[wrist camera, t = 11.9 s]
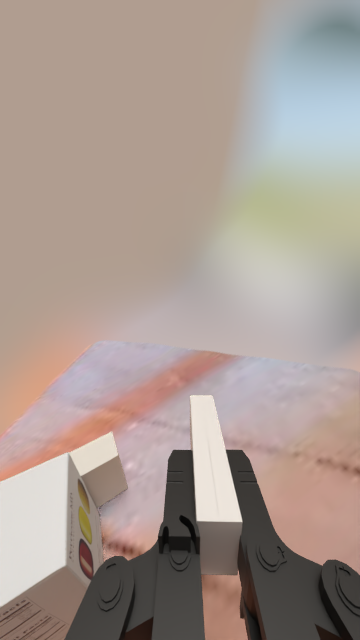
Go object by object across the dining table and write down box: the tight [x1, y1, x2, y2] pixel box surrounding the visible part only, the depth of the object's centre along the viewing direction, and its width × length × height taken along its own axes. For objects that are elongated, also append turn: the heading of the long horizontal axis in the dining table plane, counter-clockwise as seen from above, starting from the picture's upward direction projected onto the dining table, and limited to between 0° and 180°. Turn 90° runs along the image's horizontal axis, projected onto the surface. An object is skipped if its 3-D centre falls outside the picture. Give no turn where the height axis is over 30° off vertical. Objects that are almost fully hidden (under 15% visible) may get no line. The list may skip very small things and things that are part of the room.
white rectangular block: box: [69, 432, 128, 508], centre depth 26 cm, size 4×22×10 cm, turn 121°
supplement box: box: [0, 452, 104, 640], centre depth 20 cm, size 10×9×17 cm
